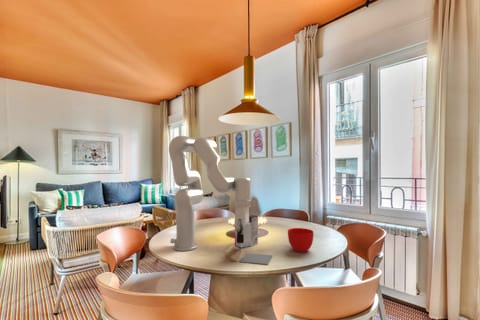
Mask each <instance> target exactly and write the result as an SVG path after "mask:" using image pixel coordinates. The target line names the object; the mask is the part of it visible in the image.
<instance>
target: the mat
mask: <svg viewBox="0 0 480 320" xmlns="http://www.w3.org/2000/svg"><path fill="white" fill-rule="evenodd" d="M272 257H273V255H272V254H262V253H251V252H246V253H244V254H243V256H242V257H241V258H240V259H239V263H246V264H255V265H262V266H263V265H265V266H268V265H269V263H270V262H271V260H272Z"/></svg>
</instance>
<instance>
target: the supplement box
mask: <svg viewBox="0 0 480 320" xmlns="http://www.w3.org/2000/svg"><path fill="white" fill-rule="evenodd" d="M240 227H243V226H242V224H241V226H240ZM241 231H242V229H241ZM243 234H244V243H237V228H235V227H234V245H235V246H236V247H238V248H241V249H243V248H244V249H247V248H248V249H249V248H250V247H252V246H251V223H250V222H247V223H246V227H245V228H244V230H243Z"/></svg>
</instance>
